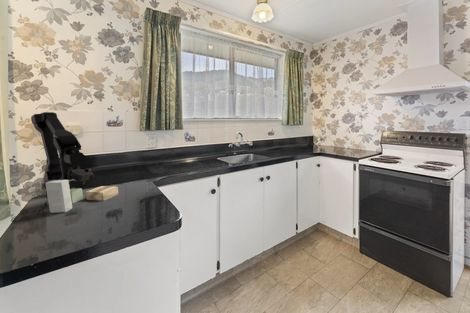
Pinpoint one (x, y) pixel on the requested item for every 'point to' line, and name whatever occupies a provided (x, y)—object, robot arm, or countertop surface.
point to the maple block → (102, 193)
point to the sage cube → (76, 194)
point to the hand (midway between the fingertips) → (73, 198)
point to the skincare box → (58, 196)
